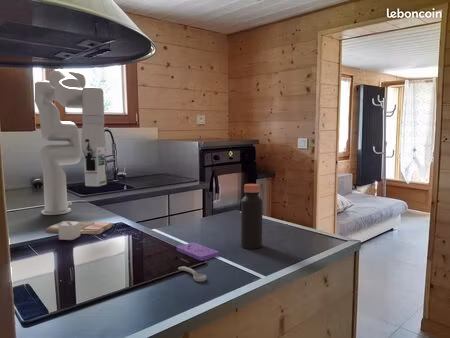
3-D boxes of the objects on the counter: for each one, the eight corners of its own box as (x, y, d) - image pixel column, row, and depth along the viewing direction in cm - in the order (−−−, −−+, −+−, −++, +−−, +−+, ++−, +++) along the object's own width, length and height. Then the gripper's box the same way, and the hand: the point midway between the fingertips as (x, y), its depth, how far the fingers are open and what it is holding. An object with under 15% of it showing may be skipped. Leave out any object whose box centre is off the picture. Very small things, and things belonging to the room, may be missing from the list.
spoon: (199, 284, 85) (198, 276, 85) (175, 273, 95) (175, 265, 95) (209, 282, 87) (209, 273, 87) (185, 270, 97) (185, 263, 96)
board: (64, 224, 143) (64, 220, 143) (113, 226, 140) (113, 222, 140) (45, 232, 131) (45, 228, 131) (98, 234, 128) (98, 230, 128)
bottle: (256, 250, 109) (256, 186, 108) (237, 247, 113) (237, 185, 111) (265, 245, 115) (266, 184, 113) (247, 241, 119) (247, 182, 117)
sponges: (194, 247, 115) (193, 241, 115) (219, 257, 105) (219, 250, 105) (175, 252, 110) (175, 246, 110) (200, 262, 101) (200, 256, 101)
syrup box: (99, 186, 130) (97, 146, 128) (84, 186, 131) (82, 146, 130) (107, 184, 135) (105, 146, 134) (93, 184, 136) (91, 146, 135)
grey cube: (67, 235, 127) (66, 221, 127) (80, 236, 127) (79, 222, 126) (59, 239, 122) (58, 225, 122) (72, 240, 122) (71, 225, 121)
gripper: (95, 122, 140) (97, 167, 142) (70, 120, 123) (73, 172, 125) (113, 122, 139) (115, 167, 140) (90, 120, 122) (92, 172, 123)
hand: (95, 169), depth 133 cm, fingers closed on syrup box, 5 cm apart
